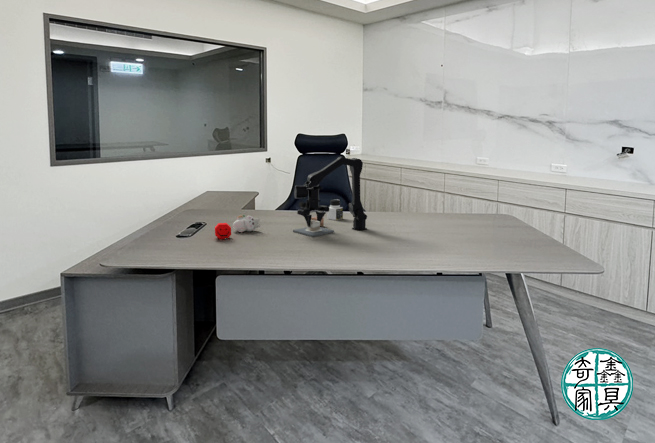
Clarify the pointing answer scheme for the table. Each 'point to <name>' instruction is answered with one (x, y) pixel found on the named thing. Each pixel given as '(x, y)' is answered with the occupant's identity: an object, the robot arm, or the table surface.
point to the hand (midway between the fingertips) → (313, 225)
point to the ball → (222, 230)
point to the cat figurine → (245, 223)
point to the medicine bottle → (335, 210)
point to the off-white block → (314, 225)
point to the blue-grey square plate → (313, 233)
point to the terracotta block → (320, 222)
